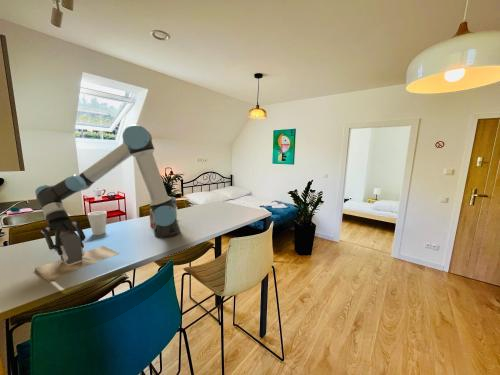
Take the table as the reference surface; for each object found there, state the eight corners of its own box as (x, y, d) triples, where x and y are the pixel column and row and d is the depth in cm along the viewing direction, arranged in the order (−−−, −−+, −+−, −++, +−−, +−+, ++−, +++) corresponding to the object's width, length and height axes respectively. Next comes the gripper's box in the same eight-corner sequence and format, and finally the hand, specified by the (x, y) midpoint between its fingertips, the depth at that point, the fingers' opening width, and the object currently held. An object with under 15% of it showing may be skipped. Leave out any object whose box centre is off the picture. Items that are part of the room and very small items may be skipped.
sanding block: (82, 261, 93) (80, 236, 92) (68, 266, 89) (65, 240, 87) (75, 256, 97) (72, 233, 96) (61, 261, 93) (58, 236, 91)
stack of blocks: (167, 218, 165) (166, 202, 163) (174, 218, 164) (173, 203, 162) (150, 227, 144) (149, 209, 142) (158, 227, 143) (157, 210, 141)
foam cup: (86, 234, 128) (84, 213, 127) (101, 229, 137) (99, 210, 135) (96, 236, 125) (94, 215, 123) (111, 231, 134) (110, 211, 132)
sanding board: (103, 248, 110) (103, 245, 110) (120, 255, 102) (119, 253, 102) (34, 270, 88) (34, 267, 88) (49, 282, 80) (48, 279, 80)
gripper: (77, 214, 106) (96, 253, 100) (27, 224, 91) (45, 270, 85) (81, 206, 103) (100, 245, 97) (29, 214, 87) (48, 262, 81)
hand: (74, 257), depth 91 cm, fingers closed on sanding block, 5 cm apart
